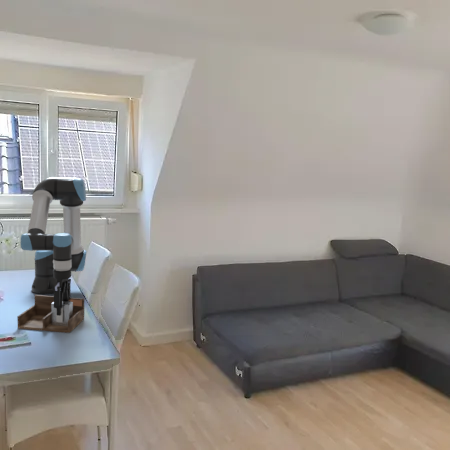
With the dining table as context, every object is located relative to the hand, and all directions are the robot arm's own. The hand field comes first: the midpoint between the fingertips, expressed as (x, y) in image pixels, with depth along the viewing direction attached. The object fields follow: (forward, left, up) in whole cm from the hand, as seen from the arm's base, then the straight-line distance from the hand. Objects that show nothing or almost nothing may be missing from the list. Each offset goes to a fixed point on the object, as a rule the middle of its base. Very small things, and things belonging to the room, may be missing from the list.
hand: (62, 319), depth 218 cm
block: (0, 0, -2) cm, 2 cm away
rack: (-1, -6, -3) cm, 7 cm away
